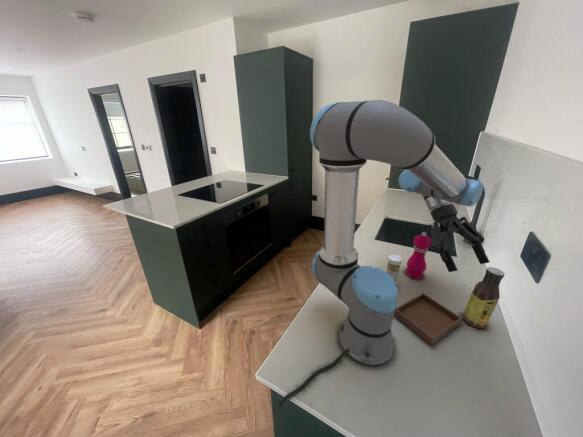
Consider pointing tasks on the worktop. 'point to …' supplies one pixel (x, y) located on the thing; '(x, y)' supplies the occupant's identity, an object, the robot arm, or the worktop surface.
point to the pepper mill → (418, 256)
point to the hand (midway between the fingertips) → (469, 267)
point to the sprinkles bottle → (394, 266)
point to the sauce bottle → (483, 299)
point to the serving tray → (427, 318)
